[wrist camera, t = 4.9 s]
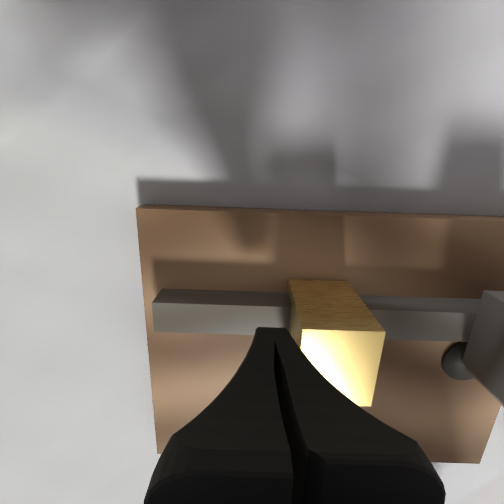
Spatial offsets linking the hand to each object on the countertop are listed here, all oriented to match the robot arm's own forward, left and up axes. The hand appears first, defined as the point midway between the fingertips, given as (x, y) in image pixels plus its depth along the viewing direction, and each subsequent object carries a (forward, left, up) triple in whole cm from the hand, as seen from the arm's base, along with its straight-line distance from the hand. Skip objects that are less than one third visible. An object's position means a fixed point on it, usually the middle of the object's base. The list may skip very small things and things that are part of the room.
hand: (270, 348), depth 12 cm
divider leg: (-1, -2, -3) cm, 4 cm away
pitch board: (-3, -4, -5) cm, 7 cm away
